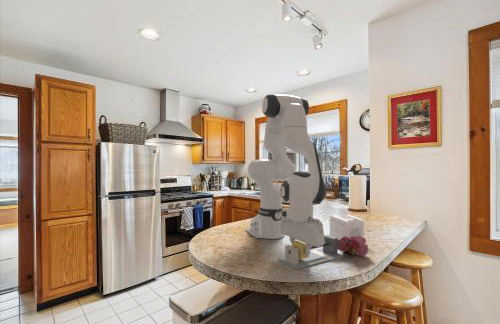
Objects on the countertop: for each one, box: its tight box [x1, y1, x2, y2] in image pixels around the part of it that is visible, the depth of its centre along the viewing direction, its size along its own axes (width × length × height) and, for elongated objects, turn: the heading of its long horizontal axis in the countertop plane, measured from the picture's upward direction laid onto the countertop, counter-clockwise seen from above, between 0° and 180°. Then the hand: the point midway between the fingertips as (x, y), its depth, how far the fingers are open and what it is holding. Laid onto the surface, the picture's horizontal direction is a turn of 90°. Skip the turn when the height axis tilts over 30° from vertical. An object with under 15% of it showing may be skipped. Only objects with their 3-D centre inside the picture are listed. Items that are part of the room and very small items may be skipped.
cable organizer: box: [329, 214, 365, 240], centre depth 117 cm, size 15×11×12 cm
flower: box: [338, 236, 369, 261], centre depth 98 cm, size 11×10×10 cm
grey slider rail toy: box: [278, 234, 345, 271], centre depth 94 cm, size 10×25×7 cm, turn 122°
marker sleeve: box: [291, 240, 309, 259], centre depth 91 cm, size 5×4×5 cm
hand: (300, 251), depth 91 cm, fingers closed on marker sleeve, 5 cm apart
